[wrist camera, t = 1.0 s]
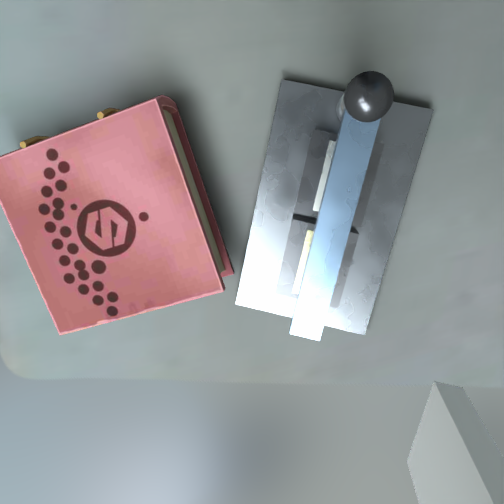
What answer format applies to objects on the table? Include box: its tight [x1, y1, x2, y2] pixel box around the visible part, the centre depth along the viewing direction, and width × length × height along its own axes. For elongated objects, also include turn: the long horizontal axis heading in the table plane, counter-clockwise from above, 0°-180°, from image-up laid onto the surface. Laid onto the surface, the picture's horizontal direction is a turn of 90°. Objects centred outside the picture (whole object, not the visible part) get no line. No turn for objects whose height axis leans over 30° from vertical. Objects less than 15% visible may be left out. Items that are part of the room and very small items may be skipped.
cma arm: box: [290, 71, 394, 341], centre depth 25 cm, size 16×3×2 cm, turn 168°
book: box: [0, 95, 234, 335], centre depth 33 cm, size 14×15×5 cm
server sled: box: [236, 79, 433, 335], centre depth 30 cm, size 18×11×6 cm, turn 168°
